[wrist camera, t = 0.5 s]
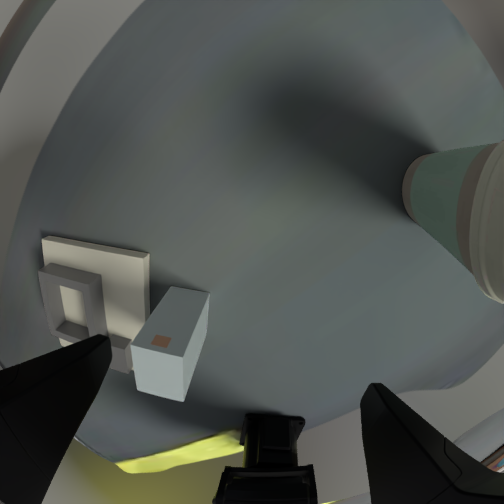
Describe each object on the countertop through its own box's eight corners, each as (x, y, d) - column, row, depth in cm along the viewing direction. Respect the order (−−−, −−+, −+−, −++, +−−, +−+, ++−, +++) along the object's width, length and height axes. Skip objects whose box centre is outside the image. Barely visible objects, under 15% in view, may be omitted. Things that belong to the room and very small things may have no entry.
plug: (206, 333, 23) (183, 402, 16) (170, 326, 23) (137, 390, 16) (209, 292, 22) (183, 357, 14) (171, 285, 22) (130, 344, 15)
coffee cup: (386, 249, 20) (477, 337, 9) (380, 135, 17) (496, 124, 6) (467, 238, 19) (563, 298, 8) (467, 139, 17) (579, 148, 5)
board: (153, 367, 25) (143, 388, 22) (66, 339, 25) (51, 355, 22) (149, 253, 21) (132, 268, 18) (49, 235, 21) (27, 245, 18)
